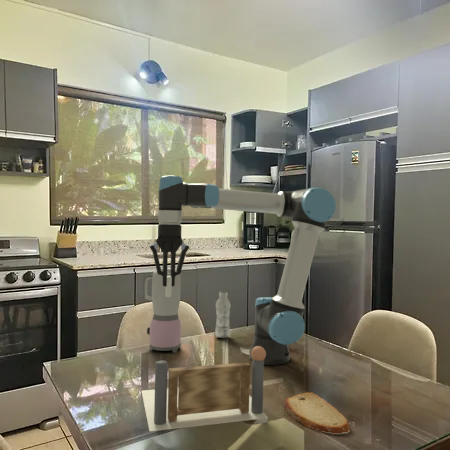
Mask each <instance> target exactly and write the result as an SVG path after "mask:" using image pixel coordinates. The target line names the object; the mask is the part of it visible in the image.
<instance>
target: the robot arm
mask: <svg viewBox="0 0 450 450" xmlns="http://www.w3.org/2000/svg"><path fill="white" fill-rule="evenodd" d="M183 180H184V179H183V177H182V176H179V175H162V176H161V177H160V178H159V182H158V183H159V185H158V218H157V219H158V220H157V221H158V223H159V224H158V225H157V239H156V241H155V242H154V243H153V244H150V245H149V249H150V251H151V252H152V256H153V261H154V264H155V271H157V273H158V274H159V275H162V276H163V286H166V297H171V286H174V285H175V276H176V275H179V274H181V273H182V269H183V266H184V261H185V258H186V256H187V255H186V254H187V252H188V251H189V249H190V246H189V245H187V244H185V243H184V241H183V239H182V227H183V225H181V224H182V219H183V217H182V216H183V206H184V207H190V208H195V209H213V210H214V209H215V210H226V211H227V210H228V211H236V212H237V211H240V212H252V213H260V214H261V213H263V214H274V215H276V216H277V217H278V218H287V219H291V223H292V226H293V227H294V229H293V234H292V237H291V241H290V245H289V248H288V252H287V256H286V260H285V263H284V268H283V272H282V275H281V279H280V282H279V286H278V291H277V294H276V295H274V296H273V297H271V296H269V297H267V296H266V297H265V296H264V297H262V296H261V297H257V298H256V299H255V305H254V337H253V340H252V344H251V347H250V350H249V360H250V361H251V362H252V361H253V359H252V357H251V350H252V349H253V348H254V347H256V346H261V347H263V348H264V349H265V351H266V357H265V359H264V365H266V366H280V365H279V364H282V365H285V364H284V363H286V362H288V361H289V360H290V361H291V352H290V350H289V346H288V345H292V344H295V343H296V342H298V341H299V340H300V339H301V338H302V337H303V335H304V333H305V331H306V329H305V328H306V325H305V320H304V318H303V316H304V311H305V308H306V307H305V305H304V303H303V297H304V293H305V290H306V285H307V281H308V278H309V275H310V271H311V267H312V262H313V260H314V254H315V252H316V251H315V250H316V248H317V244H318V240H319V239H318V238H319V236H320V234H321V233H323V232H324V231H326V227H327V223H328V221H329V220H331V218H332V217H333V216H335V215H334V214H335V213H336V209H337V202H336V200H335V197H334V196H333V193H331V192H330V190H328V189H326V188H324V187H316V186H312V187H311V186H310V187H309V188H304V189H303V188H302V189H299V190H293V191H292V190H291V191H283V190H280V191H278V192H277V193H275V192H264V191H263V192H262V191H252V190H251V191H250V190H242V189H241V190H238V189H228V188H220V187H219V186H218V184H216V183H215V184H213V183H190V182H189V183H187V182H184V181H183ZM158 248H159V249H160V250H161V252H162V267H161V263H160V259H159V258H160V257H159V255H158V252H157V251H158ZM179 249H181V251H180V254H179V259H178V262H177V261H176V260H177V259H176V257H177V256H176V255H177V251H178V250H179ZM169 253H170V268H171V271H170V274H171V276H167V268H168V264H169V263H168V262H169V261H168V259H169V258H168V257H169ZM176 262H177V267H176ZM161 268H163V271H161ZM181 275H182V274H181ZM290 361H289V362H290ZM289 362H288V363H289ZM286 364H287V363H286Z"/></svg>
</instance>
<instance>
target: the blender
mask: <svg viewBox="0 0 450 450" xmlns="http://www.w3.org/2000/svg"><path fill="white" fill-rule="evenodd" d="M161 271H163V267H161ZM170 271H171V267H167V276H171V274H170ZM182 274H183V273H182V272H181V274H179V275H176V276H175V285H174V286H171V297H166V286H163V276H162V275H159V274H158V273H157V270H154V271H153V272H152V274H148V275H145V277H144V278H143V283H142V285H143V286H142V295H143V299H144V300H146V301H148V302H151V303H152V310H153V315H152V316H153V317H152V318H151V320H150V323H149V326H148V327H147V329H146V334H147V335H149V351H150V352H153V351H154V350H155V351H163V352H164V351H165V352H166V351H171V353H173V354H174V353H177V352H178V349H180V348H181V346H182V345H181V344H182V342H181V340H182V339H181V337H182V333H181V332H182V324H181V320H180V318H179V308H180V304H181V303H180V302H181V295H182V294H181V293H182V292H181V288H182V287H181V286H182V283H181V282H182V281H181V280H182V277H181V275H182ZM149 280H151V296H150V295H148V286H149V285H148V282H149Z"/></svg>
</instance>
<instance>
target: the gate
mask: <svg viewBox="0 0 450 450" xmlns="http://www.w3.org/2000/svg"><path fill="white" fill-rule="evenodd" d="M250 381H251V364H250V363H249V362H247V361H246V362H235V363H223V364H211V365H210V364H209V365H197V366H182V367H173V368H172V367H171V368H168V379H167V388H168V420H169V421H176V420H177V416H178V415H187V414H196V413H205V412H214V411H223V410H232V409H239V410H240V411H241V413H246V412H249V395H250V390H251V389H250V384H251V382H250ZM178 387H179V388H178ZM177 394H178V407H177Z"/></svg>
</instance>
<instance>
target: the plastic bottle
mask: <svg viewBox="0 0 450 450" xmlns="http://www.w3.org/2000/svg"><path fill="white" fill-rule="evenodd" d="M218 293H219V294H218V297H219V298H218V299H217V300H216V301H215V312H216V324H215V331H214V332H215V337H216V338H219V339H228V338H230V335H231V327H230V310H231V302H230V300H229V298H228V297H229V292H227V291H219V292H218Z"/></svg>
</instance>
